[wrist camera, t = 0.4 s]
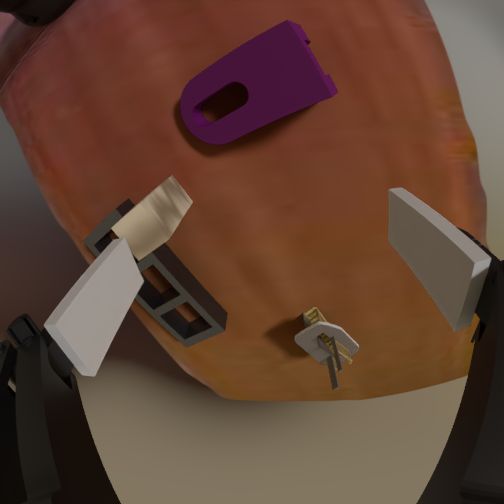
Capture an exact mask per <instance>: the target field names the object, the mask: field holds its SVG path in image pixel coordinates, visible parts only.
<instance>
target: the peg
mask: <svg viewBox="0 0 504 504" xmlns="http://www.w3.org/2000/svg"><path fill="white" fill-rule="evenodd" d="M192 203H193V201H192V200H191V199H190V197H189V196H188V195H187V194H186V192H185V191H184V190H183V188H182V187H181V186H180V184H179V183H178V182H177V181H176V179H175V178H174V177H173V175H172V176H170V177H169V178H168V179H166V180H165V181H164V182H163V183H161V184H160V185H159V186H158V187H156V188H155V189H154V190H153V191H151V192H150V193H149V194H148V195H147V196H146V197H144V198H143V199H142V200H141V201H140V202H139V203H138V204H137V205H135V206H134V207H133V208H132V209H131V210H130V211H129V212H128V213H127V214H126V215H124V216H123V217H122V218H121V219H120V220H119V221H118V222H117V223H116V224H115V225H114V226H113V227H112V228H111V229H112V230H113V231H114V232H115V234H116V235H117V236H118V237H119V238H123V237H125V239H126V241H127V244H128V246H129V248H130V251H131V252H132V254H133V255H134V256H135V257H136V258H137V259H138V260H139V261H140V260H141V259H142V258H144V257H145V256H146V255H148V254H149V253H151V252H152V251H153V250H155V249H156V248H158V247H159V246H160V245H162V244H163V243H165V242H166V241H167V240H169V239H170V237H171V236H172V234H173V232H174V231H175V229H176V228H177V226H178V224H179V223H180V221H181V220H182V218H183V217H184V215H185V213H186V212H187V210H188V209H189V207H190V206H191V204H192Z"/></svg>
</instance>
